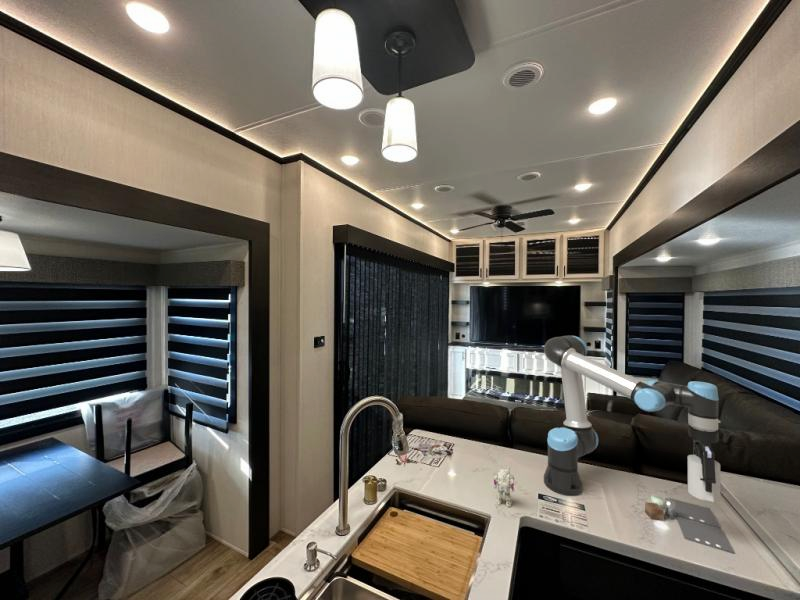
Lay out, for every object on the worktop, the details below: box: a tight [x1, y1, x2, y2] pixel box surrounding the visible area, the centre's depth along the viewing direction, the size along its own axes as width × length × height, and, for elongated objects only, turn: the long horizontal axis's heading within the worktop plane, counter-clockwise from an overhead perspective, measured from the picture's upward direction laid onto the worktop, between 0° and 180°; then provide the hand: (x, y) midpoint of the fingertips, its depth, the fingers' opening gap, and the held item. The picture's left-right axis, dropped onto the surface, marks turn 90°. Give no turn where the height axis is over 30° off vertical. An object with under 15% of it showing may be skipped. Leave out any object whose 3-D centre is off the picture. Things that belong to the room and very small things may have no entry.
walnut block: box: [644, 501, 665, 522], centre depth 117 cm, size 4×4×4 cm
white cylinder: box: [687, 454, 722, 504], centre depth 108 cm, size 8×8×12 cm
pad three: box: [676, 516, 735, 554], centre depth 108 cm, size 12×12×1 cm
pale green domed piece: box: [650, 495, 665, 510], centre depth 123 cm, size 4×4×3 cm
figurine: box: [493, 465, 515, 508], centre depth 124 cm, size 8×8×15 cm
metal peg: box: [664, 497, 676, 520], centre depth 117 cm, size 3×3×6 cm
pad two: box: [669, 497, 721, 529], centre depth 119 cm, size 12×12×1 cm
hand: (703, 493), depth 108 cm, fingers closed on white cylinder, 8 cm apart
